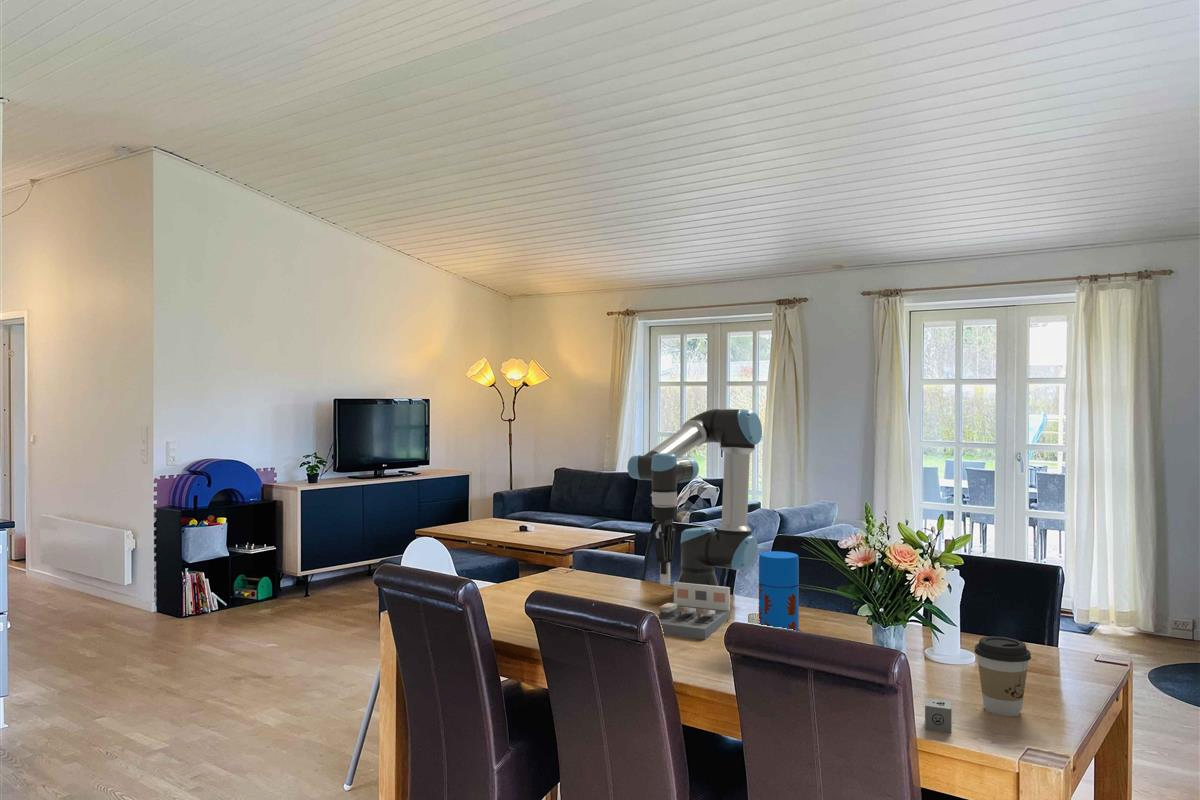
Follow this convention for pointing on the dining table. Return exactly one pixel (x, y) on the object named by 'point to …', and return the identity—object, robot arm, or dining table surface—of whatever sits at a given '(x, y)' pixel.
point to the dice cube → (938, 715)
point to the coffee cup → (1002, 674)
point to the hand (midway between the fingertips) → (665, 584)
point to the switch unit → (699, 599)
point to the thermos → (779, 589)
